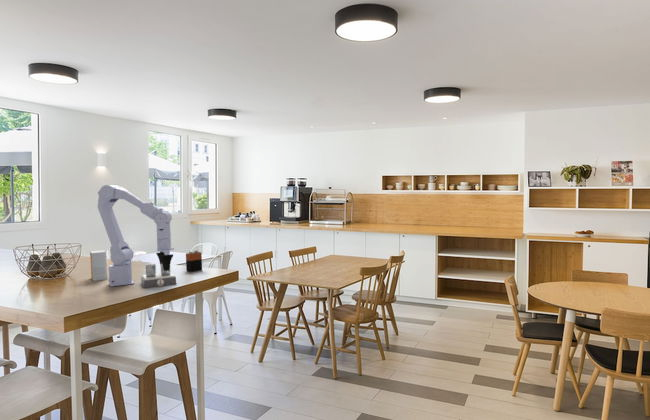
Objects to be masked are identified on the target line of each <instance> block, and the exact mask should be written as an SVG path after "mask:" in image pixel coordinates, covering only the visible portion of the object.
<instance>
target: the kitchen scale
mask: <svg viewBox="0 0 650 420" xmlns="http://www.w3.org/2000/svg"><path fill="white" fill-rule="evenodd" d="M140 284H141V285H142V287H143V288H144V289H145V288H146V289H147V288H154V287H161V286H162V287H163V286H170V285H171V286H172V285H177V277H176V276H175V275H174V274H173V273H172V272H171V271H170V275H166V276H162V275H161V272H160V273H156V276H155V277H146V274H141V276H140Z"/></svg>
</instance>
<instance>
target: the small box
mask: <svg viewBox="0 0 650 420" xmlns="http://www.w3.org/2000/svg"><path fill="white" fill-rule="evenodd" d="M89 255H90V256H89V257H90V258H89V259H90V274H91V275H90V276H91V279H92V280H91V281H92V282H95V281H103V280H108V265H107V264H108V263H107V252H106V250H103V249H101V250H99V249H98V250H90V251H89Z"/></svg>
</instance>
